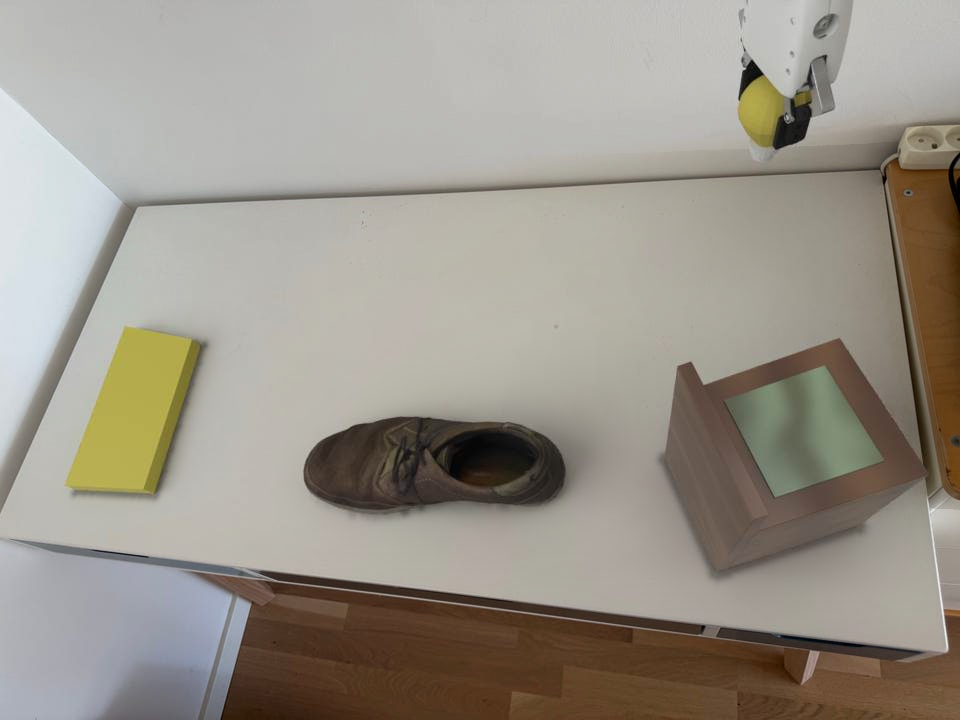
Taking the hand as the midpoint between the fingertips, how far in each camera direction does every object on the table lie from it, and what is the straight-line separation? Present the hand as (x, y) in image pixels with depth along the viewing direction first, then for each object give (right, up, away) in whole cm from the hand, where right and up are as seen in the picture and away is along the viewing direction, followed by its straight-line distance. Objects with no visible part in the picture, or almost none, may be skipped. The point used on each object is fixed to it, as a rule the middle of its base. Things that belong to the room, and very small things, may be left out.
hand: (770, 118), depth 68 cm
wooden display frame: (0, -39, +2) cm, 39 cm away
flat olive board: (-78, -32, +24) cm, 87 cm away
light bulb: (+1, -2, +5) cm, 5 cm away
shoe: (-36, -39, +10) cm, 54 cm away
